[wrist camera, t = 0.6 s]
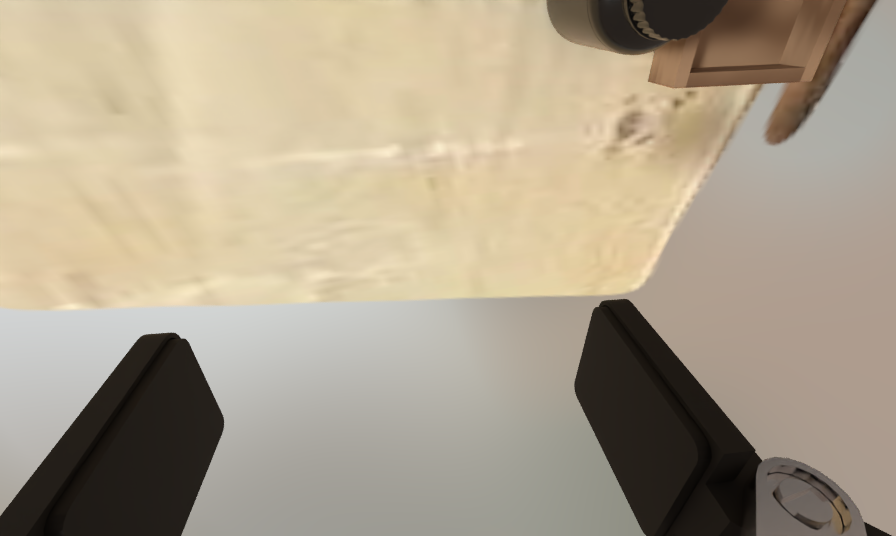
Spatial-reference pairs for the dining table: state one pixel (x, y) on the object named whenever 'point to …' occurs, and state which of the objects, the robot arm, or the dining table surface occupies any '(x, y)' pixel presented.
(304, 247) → the dining table surface
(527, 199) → the dining table surface
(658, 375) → the robot arm
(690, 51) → the caddy
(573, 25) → the supplement bottle
